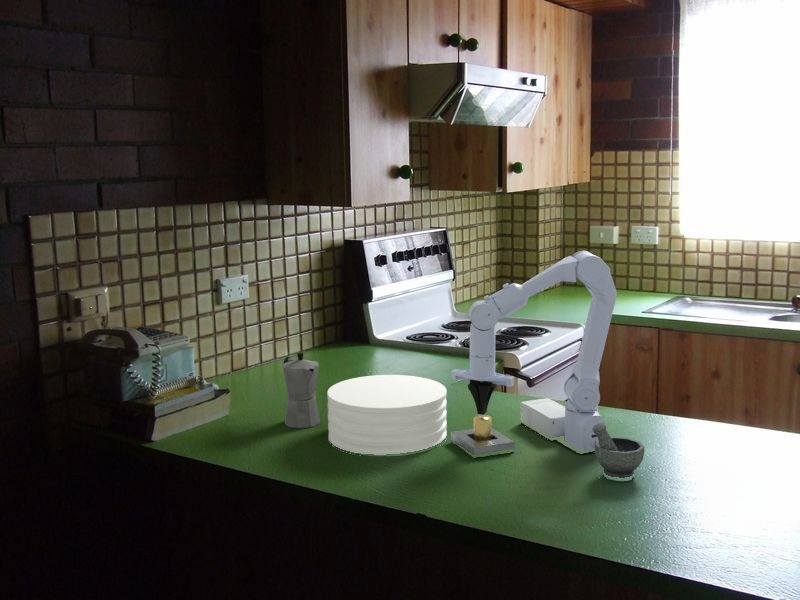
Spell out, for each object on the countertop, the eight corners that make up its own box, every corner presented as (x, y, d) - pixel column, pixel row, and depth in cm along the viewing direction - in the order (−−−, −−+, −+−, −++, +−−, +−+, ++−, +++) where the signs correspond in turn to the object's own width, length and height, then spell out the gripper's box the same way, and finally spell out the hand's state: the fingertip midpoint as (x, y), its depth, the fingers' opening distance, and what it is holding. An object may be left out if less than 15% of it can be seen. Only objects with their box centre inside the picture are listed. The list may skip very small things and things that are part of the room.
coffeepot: (332, 426, 213) (330, 355, 210) (297, 433, 208) (295, 360, 205) (303, 410, 226) (301, 343, 223) (270, 417, 221) (267, 348, 218)
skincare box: (519, 423, 214) (548, 443, 200) (519, 399, 213) (548, 418, 199) (549, 419, 216) (580, 439, 203) (550, 396, 215) (581, 414, 201)
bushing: (494, 447, 197) (495, 418, 196) (481, 451, 195) (481, 421, 193) (483, 442, 200) (483, 413, 199) (469, 446, 198) (470, 417, 197)
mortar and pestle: (625, 465, 185) (627, 411, 183) (652, 481, 176) (654, 424, 174) (579, 472, 181) (581, 417, 179) (605, 489, 172) (606, 431, 170)
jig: (514, 452, 194) (514, 441, 193) (474, 458, 190) (474, 448, 189) (489, 436, 205) (489, 426, 204) (450, 442, 201) (450, 431, 200)
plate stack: (457, 423, 215) (457, 378, 213) (431, 462, 189) (431, 412, 187) (350, 415, 223) (349, 371, 221) (311, 452, 196) (309, 403, 194)
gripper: (519, 354, 193) (518, 412, 196) (460, 347, 200) (460, 404, 203) (507, 361, 187) (506, 421, 190) (447, 354, 194) (447, 412, 197)
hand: (482, 413), depth 196 cm, fingers closed
